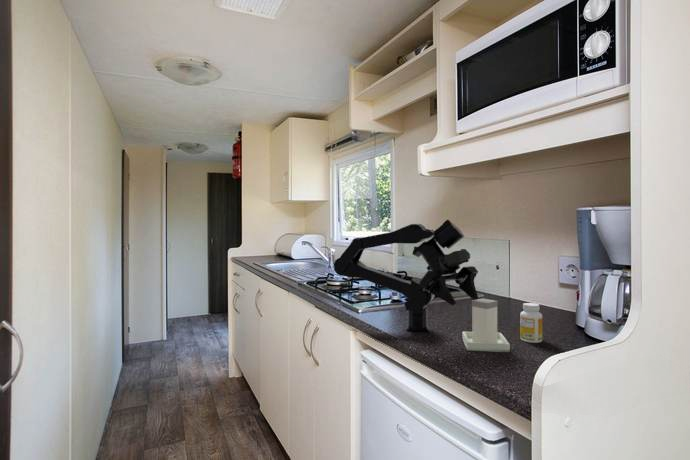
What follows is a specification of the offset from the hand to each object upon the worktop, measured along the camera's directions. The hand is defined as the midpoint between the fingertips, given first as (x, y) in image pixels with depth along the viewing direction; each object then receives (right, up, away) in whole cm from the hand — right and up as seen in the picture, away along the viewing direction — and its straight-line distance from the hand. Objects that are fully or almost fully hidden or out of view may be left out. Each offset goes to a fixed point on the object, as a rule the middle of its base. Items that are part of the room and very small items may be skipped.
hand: (466, 302), depth 108 cm
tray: (+4, -10, -4) cm, 12 cm away
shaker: (+4, -10, -4) cm, 11 cm away
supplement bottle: (+17, -10, 0) cm, 20 cm away
